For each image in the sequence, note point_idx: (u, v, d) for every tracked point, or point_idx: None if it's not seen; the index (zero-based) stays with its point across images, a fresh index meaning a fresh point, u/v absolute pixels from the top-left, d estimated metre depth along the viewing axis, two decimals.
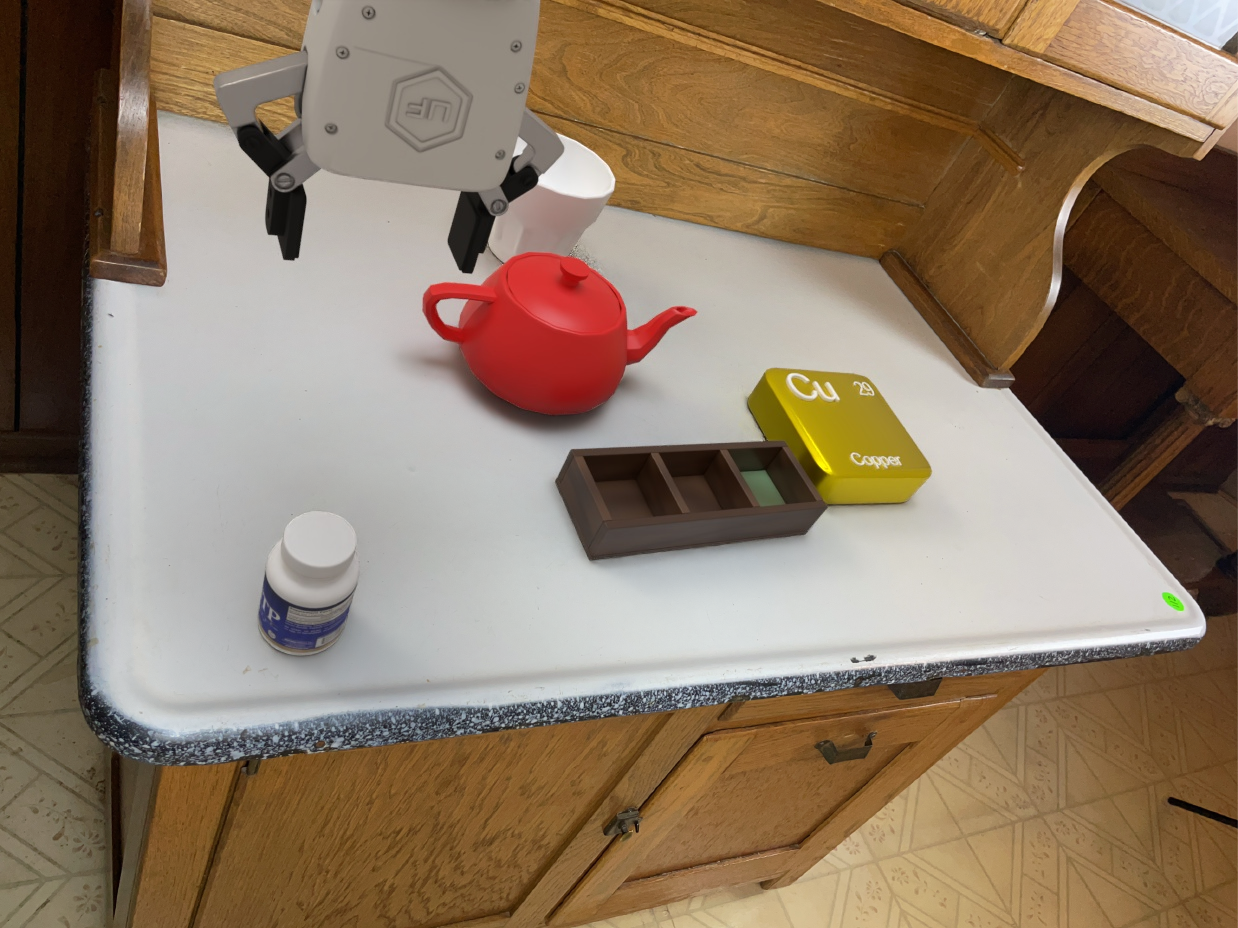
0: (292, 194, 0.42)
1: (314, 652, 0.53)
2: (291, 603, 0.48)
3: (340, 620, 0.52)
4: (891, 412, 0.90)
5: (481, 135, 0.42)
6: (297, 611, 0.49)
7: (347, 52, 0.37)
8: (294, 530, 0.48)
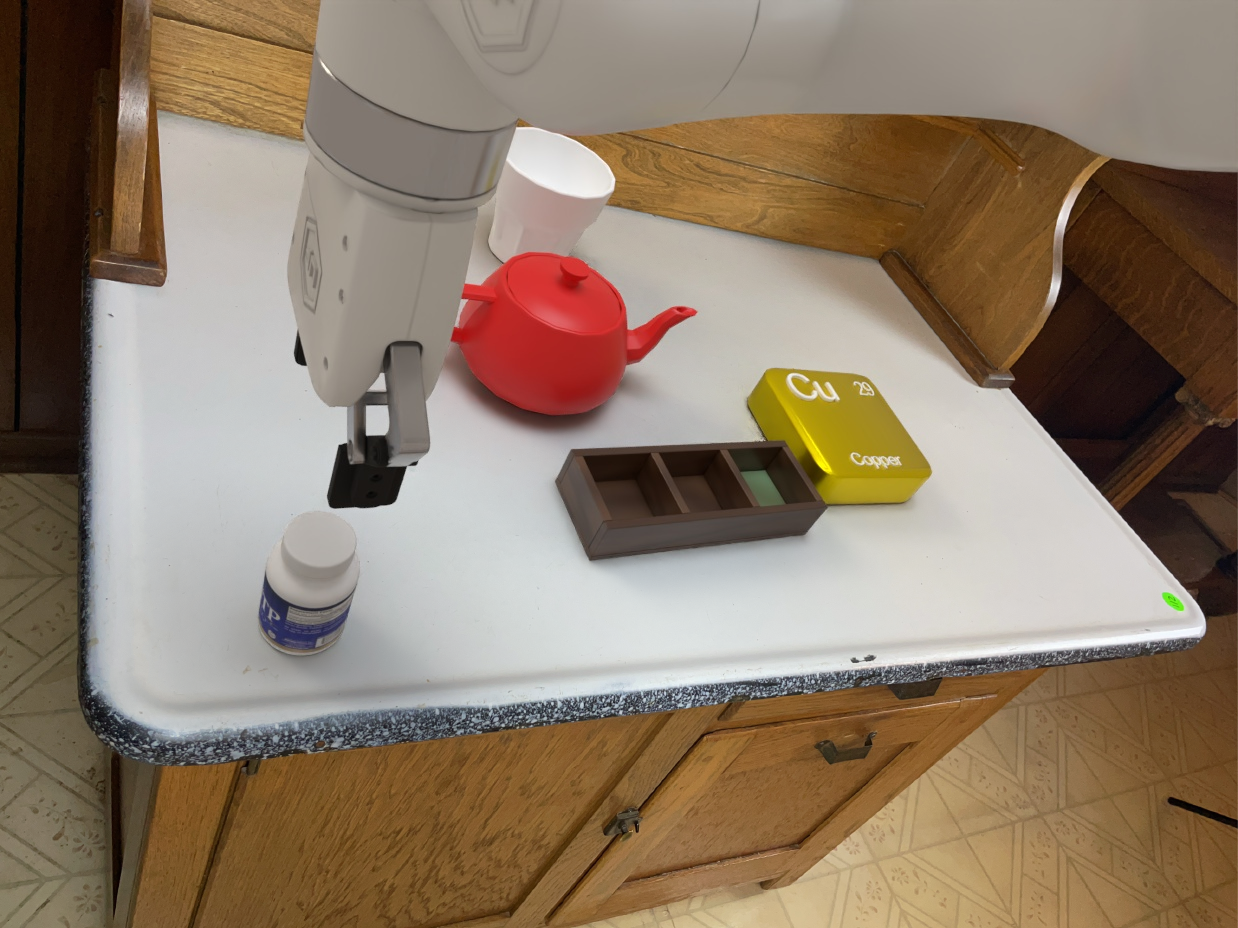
0: None
1: (314, 652, 0.53)
2: (291, 603, 0.48)
3: (340, 620, 0.52)
4: (891, 412, 0.90)
5: (321, 325, 0.35)
6: (297, 611, 0.49)
7: (307, 174, 0.37)
8: (294, 530, 0.48)
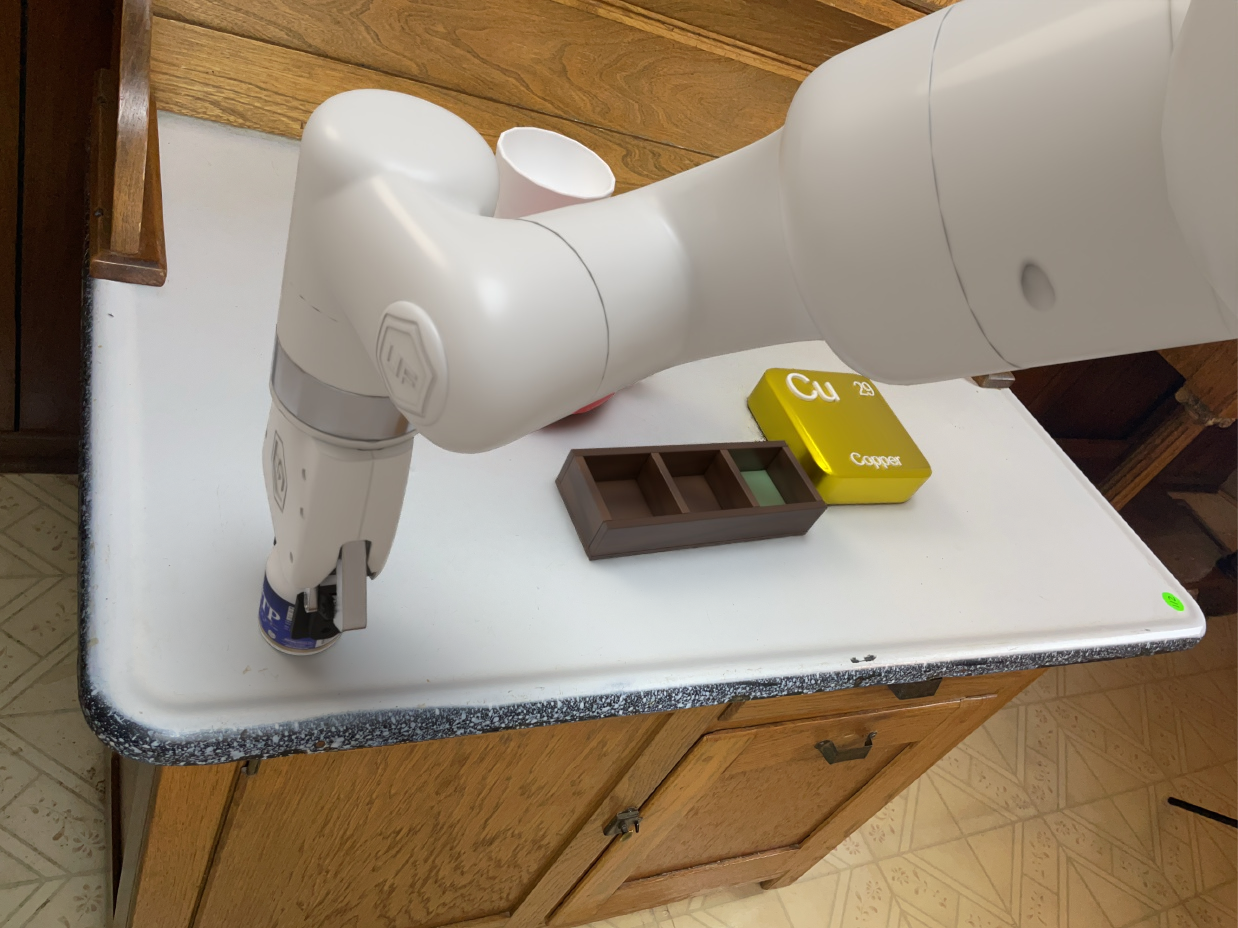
0: None
1: (314, 652, 0.53)
2: (291, 602, 0.48)
3: None
4: (891, 412, 0.90)
5: (287, 525, 0.42)
6: None
7: None
8: None
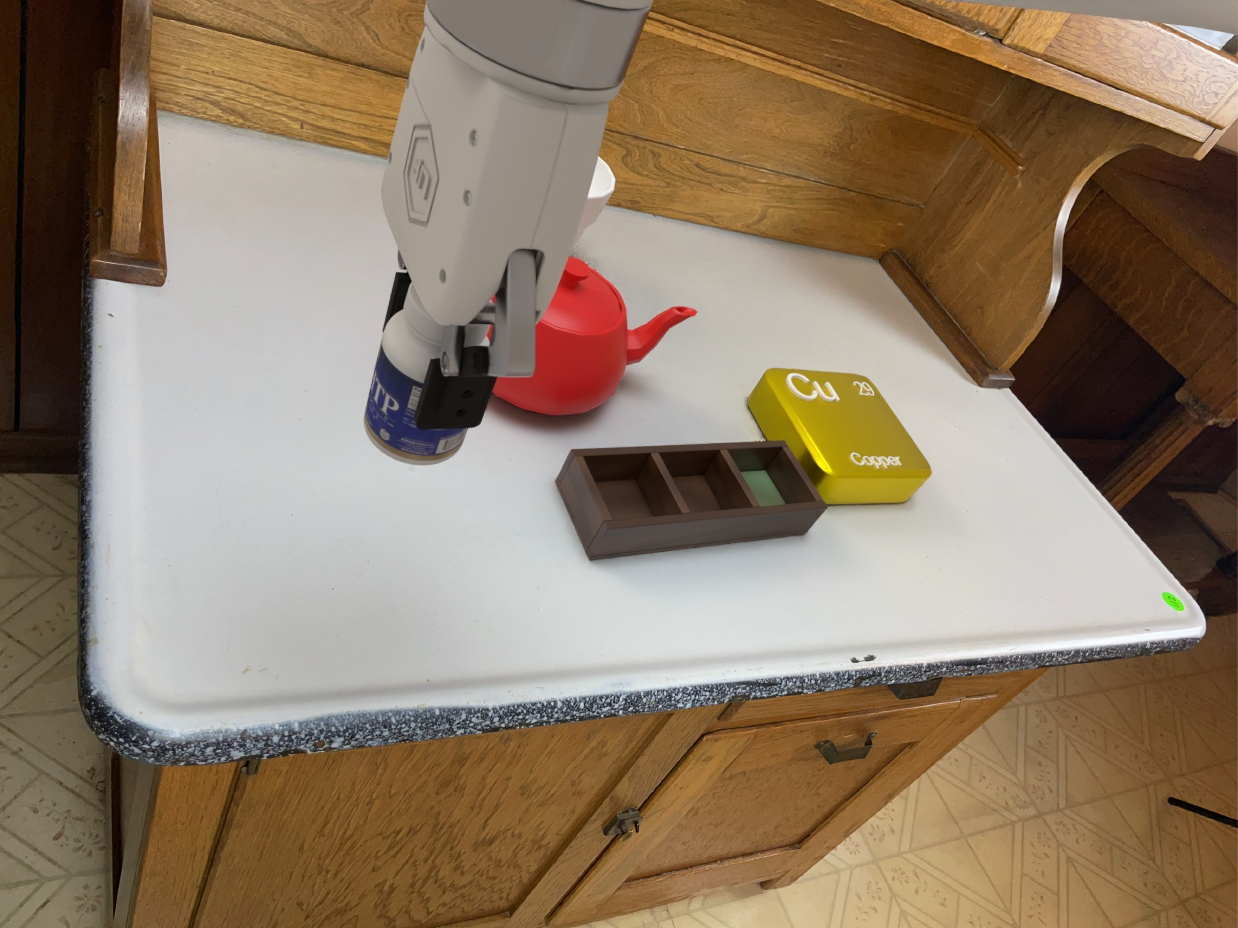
0: (401, 273, 0.41)
1: (433, 462, 0.43)
2: (417, 380, 0.39)
3: None
4: (891, 412, 0.90)
5: (437, 236, 0.33)
6: None
7: (411, 83, 0.35)
8: None
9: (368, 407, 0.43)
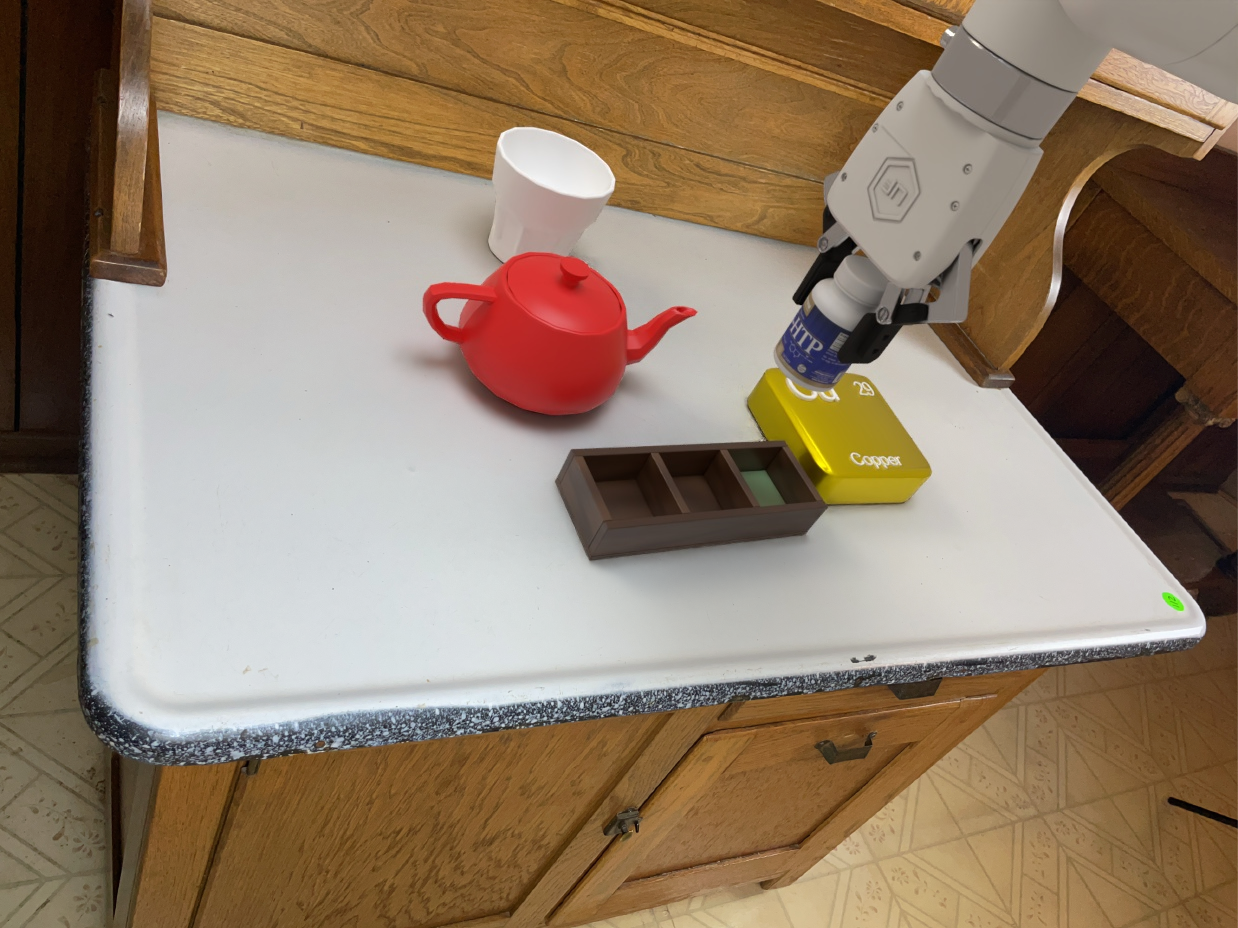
0: (821, 255, 0.59)
1: (827, 389, 0.61)
2: (845, 328, 0.57)
3: None
4: (891, 412, 0.90)
5: (913, 230, 0.51)
6: (845, 338, 0.58)
7: (878, 129, 0.53)
8: (851, 265, 0.57)
9: (787, 349, 0.61)
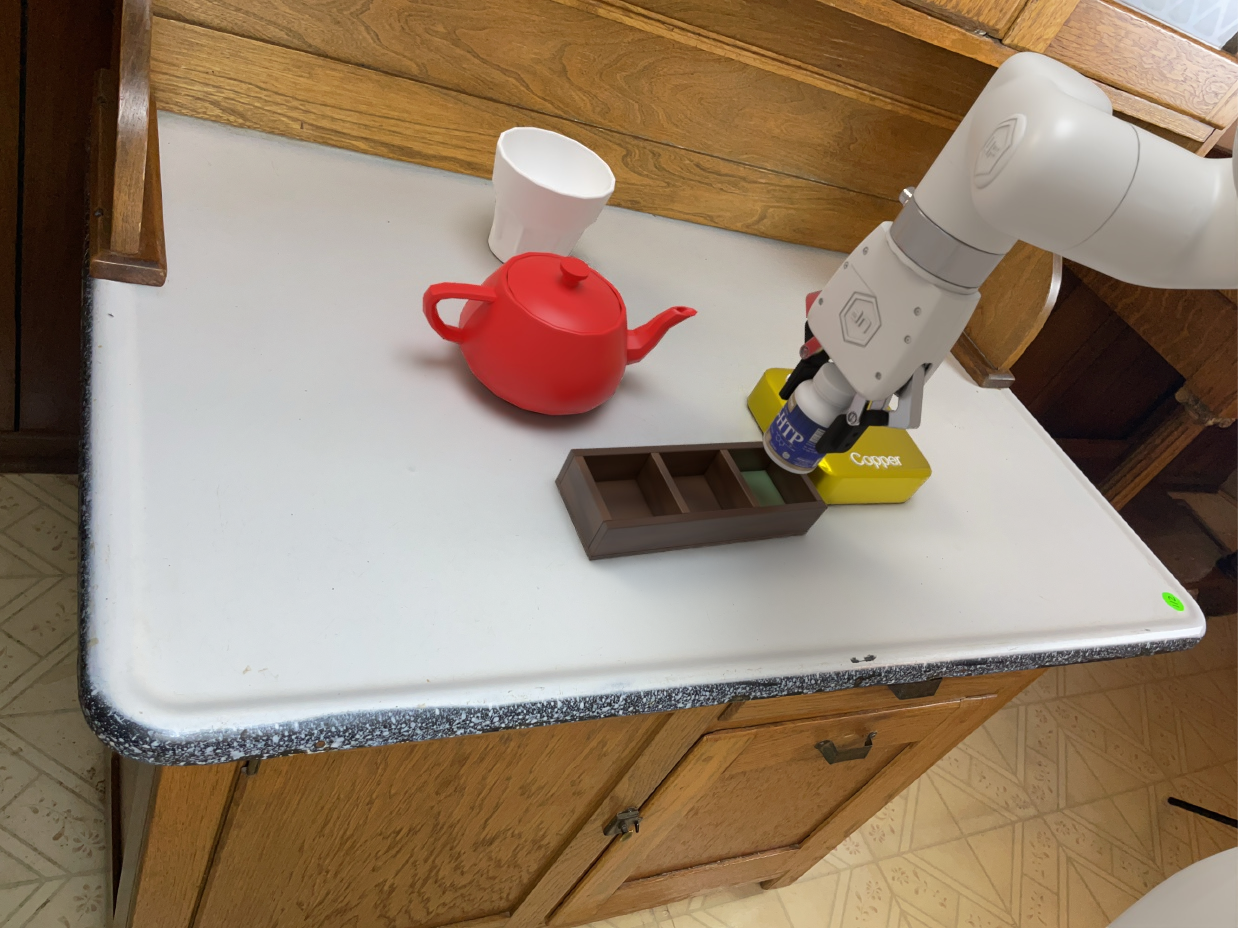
0: (802, 361, 0.70)
1: (807, 471, 0.72)
2: (821, 425, 0.68)
3: None
4: None
5: (875, 354, 0.62)
6: (822, 433, 0.68)
7: (848, 266, 0.64)
8: (827, 372, 0.68)
9: (773, 438, 0.71)
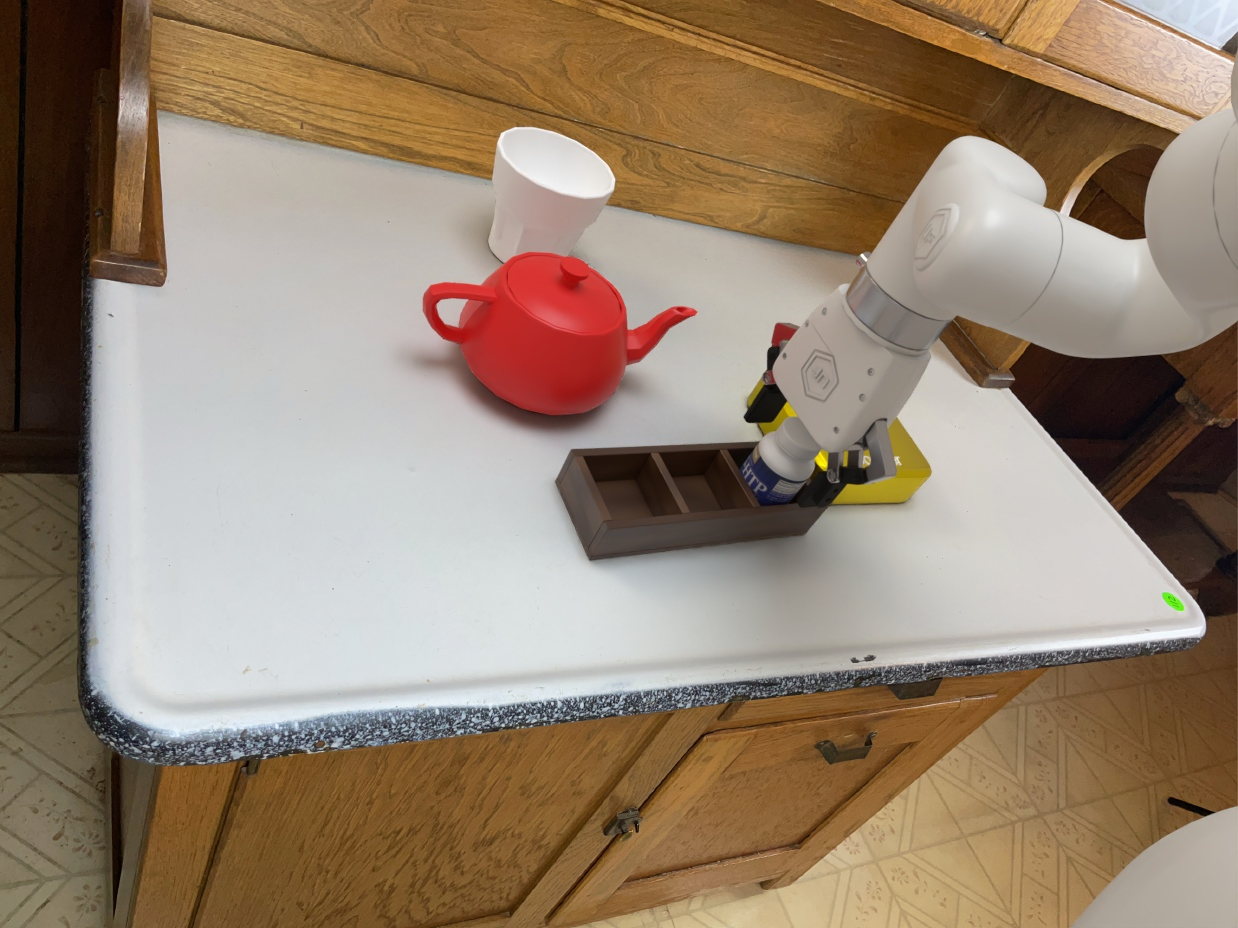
0: (765, 387, 0.74)
1: None
2: (783, 477, 0.72)
3: (795, 494, 0.75)
4: None
5: (833, 409, 0.65)
6: (784, 483, 0.73)
7: (809, 325, 0.67)
8: (788, 427, 0.72)
9: None
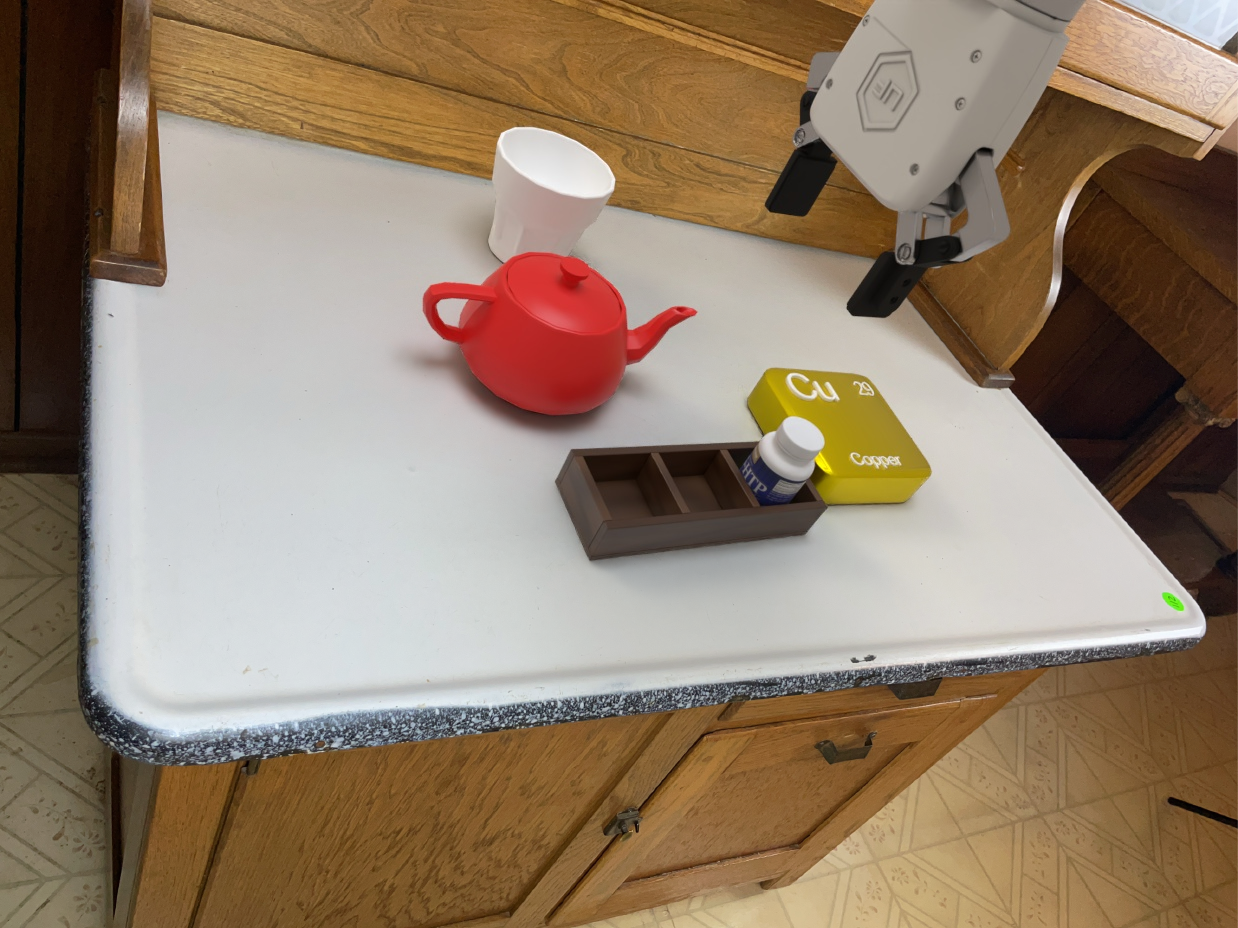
0: (797, 150, 0.51)
1: None
2: (783, 477, 0.72)
3: (795, 494, 0.75)
4: (891, 412, 0.90)
5: (909, 138, 0.42)
6: (784, 483, 0.72)
7: (869, 21, 0.44)
8: (788, 427, 0.72)
9: None
